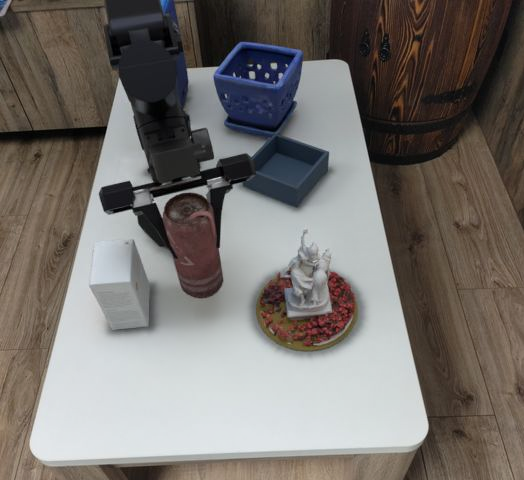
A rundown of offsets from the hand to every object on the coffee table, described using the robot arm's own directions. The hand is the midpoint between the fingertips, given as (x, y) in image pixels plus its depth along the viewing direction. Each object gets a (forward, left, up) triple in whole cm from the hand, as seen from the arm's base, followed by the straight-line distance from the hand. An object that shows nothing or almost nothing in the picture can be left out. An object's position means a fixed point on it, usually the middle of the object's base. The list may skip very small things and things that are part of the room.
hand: (197, 253), depth 64 cm
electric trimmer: (-13, +8, -13) cm, 20 cm away
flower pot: (-19, +44, -13) cm, 50 cm away
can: (-1, +1, -8) cm, 8 cm away
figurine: (+12, +8, -13) cm, 19 cm away
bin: (-6, +32, -13) cm, 35 cm away
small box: (-11, -5, -13) cm, 18 cm away
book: (-38, +40, -13) cm, 57 cm away
